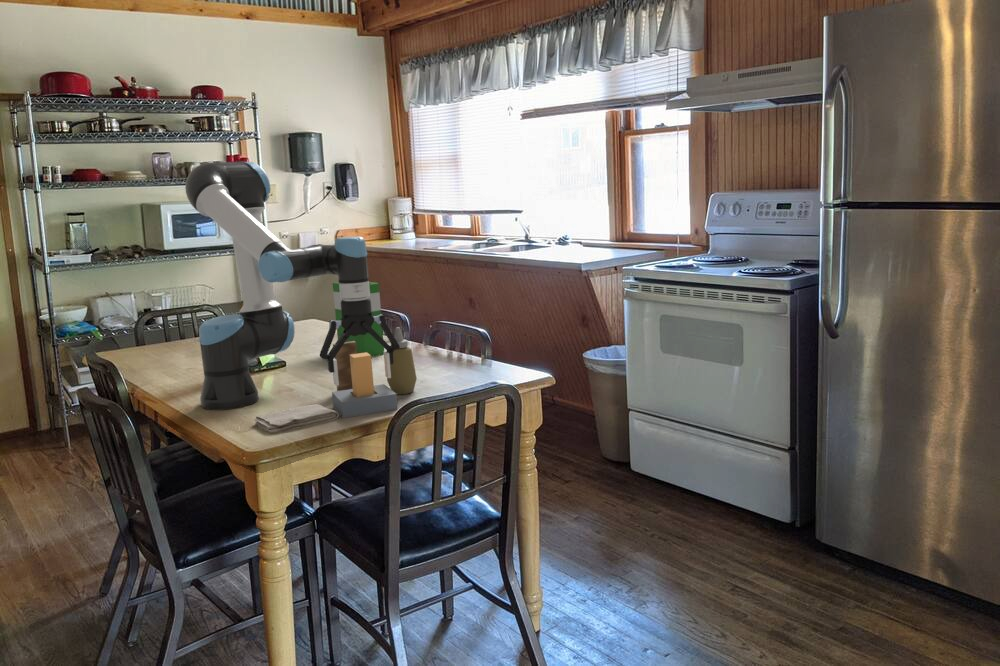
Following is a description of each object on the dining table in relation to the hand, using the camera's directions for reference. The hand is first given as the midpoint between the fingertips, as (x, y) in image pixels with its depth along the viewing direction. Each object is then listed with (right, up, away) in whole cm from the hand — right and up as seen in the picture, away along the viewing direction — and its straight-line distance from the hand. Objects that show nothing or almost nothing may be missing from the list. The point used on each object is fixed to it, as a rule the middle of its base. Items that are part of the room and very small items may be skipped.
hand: (362, 380), depth 215 cm
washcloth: (-15, -10, -7) cm, 20 cm away
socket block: (0, -7, +1) cm, 7 cm away
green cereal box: (-12, +5, +72) cm, 73 cm away
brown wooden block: (-7, -4, +19) cm, 20 cm away
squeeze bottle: (+9, -4, +15) cm, 18 cm away
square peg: (0, -7, +1) cm, 7 cm away
